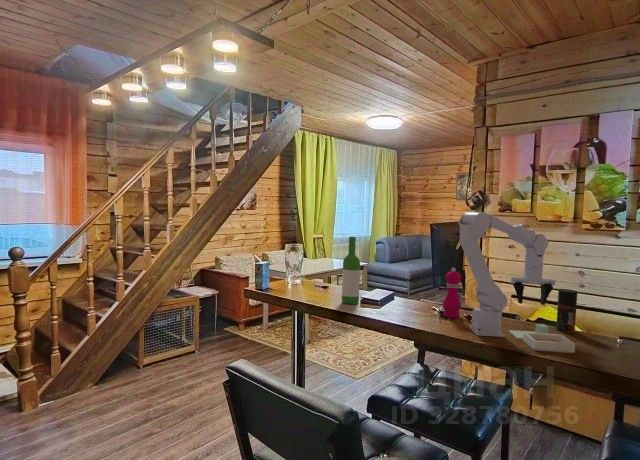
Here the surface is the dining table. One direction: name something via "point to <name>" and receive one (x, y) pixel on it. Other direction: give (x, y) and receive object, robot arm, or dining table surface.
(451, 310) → the pepper mill
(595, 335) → the dining table surface
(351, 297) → the wine bottle
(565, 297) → the deodorant
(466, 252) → the robot arm
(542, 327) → the lid
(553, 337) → the tub
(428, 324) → the dining table surface
